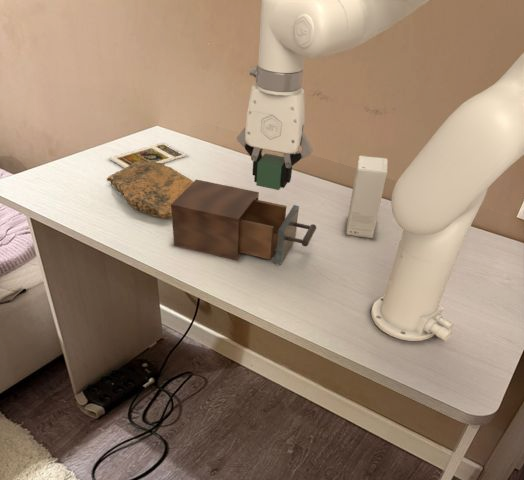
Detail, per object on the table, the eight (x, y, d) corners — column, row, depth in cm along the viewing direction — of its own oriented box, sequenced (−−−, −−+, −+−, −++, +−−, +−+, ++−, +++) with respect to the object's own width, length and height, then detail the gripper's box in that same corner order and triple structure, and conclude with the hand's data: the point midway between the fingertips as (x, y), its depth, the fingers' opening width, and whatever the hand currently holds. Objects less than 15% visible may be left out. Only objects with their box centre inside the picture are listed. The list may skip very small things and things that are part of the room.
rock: (216, 183, 120) (165, 214, 106) (215, 203, 124) (165, 235, 110) (136, 150, 127) (78, 175, 113) (137, 170, 130) (81, 197, 117)
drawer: (315, 242, 107) (320, 210, 102) (302, 270, 99) (307, 236, 94) (238, 225, 111) (239, 193, 105) (219, 251, 103) (219, 217, 97)
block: (285, 180, 96) (288, 157, 93) (278, 190, 93) (281, 166, 90) (263, 176, 97) (265, 153, 94) (256, 185, 94) (257, 162, 91)
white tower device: (372, 239, 111) (388, 173, 100) (343, 235, 112) (356, 168, 101) (374, 221, 117) (389, 157, 106) (346, 217, 118) (359, 153, 107)
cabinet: (256, 231, 111) (258, 192, 104) (237, 260, 102) (238, 219, 95) (197, 218, 114) (196, 179, 107) (173, 245, 105) (170, 204, 98)
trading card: (109, 157, 133) (163, 142, 143) (109, 159, 134) (163, 144, 143) (131, 170, 128) (185, 154, 138) (131, 172, 129) (185, 156, 138)
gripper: (224, 76, 81) (223, 181, 94) (323, 93, 78) (308, 199, 91) (240, 66, 86) (237, 166, 99) (332, 81, 83) (317, 183, 96)
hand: (271, 181), depth 95 cm, fingers closed on block, 4 cm apart
